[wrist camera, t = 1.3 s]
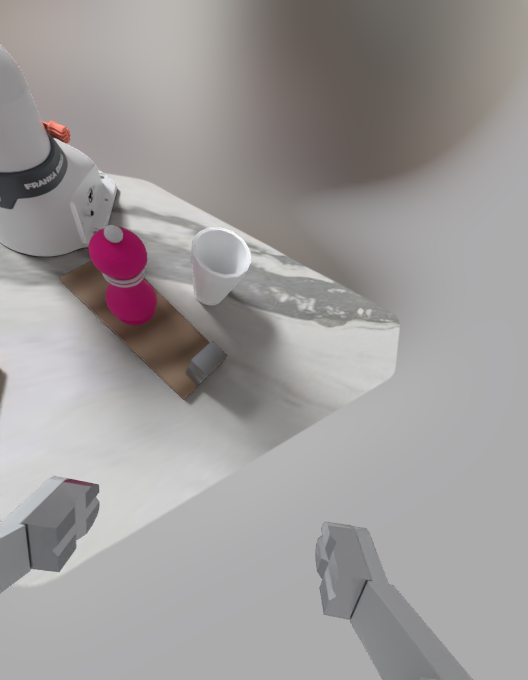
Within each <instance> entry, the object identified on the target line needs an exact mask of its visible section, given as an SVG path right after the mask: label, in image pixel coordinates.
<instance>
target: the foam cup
mask: <svg viewBox="0 0 528 680" xmlns="http://www.w3.org/2000/svg"><path fill="white" fill-rule="evenodd" d="M191 263H192V265H193V292H194V295H195V297H196V299H197V300H198V301H200V302H201V303H202V304H205V305H209V306H211V305H217V304H218V303H220V302H221V301H222V300H223V299H224V298H225V297H226V296H227V295H228V293H229V292H230V291H231V290H232V289H233V287H234V286H235V285H236V284H237V283H238V282H239V281H240V280H241V279H243V277H244V275H245V273H246V272H247V269H248V267H249V265H250V263H251V255H250V250H249V248H248V246H247V245H246V243H245V241H244V240H243V239H242V238H241V237H239V236H238V235H237V234H236V233H234V232H233V231H230V230H227V229H224V228H222V227H208V228H206V229H204V230H202V231H200V232H198V233H197V235H196V236H195V238H194V240H193V241H192V247H191Z"/></svg>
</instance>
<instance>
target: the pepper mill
mask: <svg viewBox="0 0 528 680" xmlns="http://www.w3.org/2000/svg"><path fill="white" fill-rule="evenodd" d="M88 250H89V255H90V258H91V261H92V262H93V264H94V265H95V267H96V268H97V269H99V270H100V271H101V272H102V274H103V276H104V278H105V279H106V280H107V281H108V282H109V283H110V284H109V285H108V287H107V290H106V296H105V297H106V303H107V306H108V308H109V310H110V311H111V312H112V313H113V314H114V315H115V316H116V317H117V318H118V319H119V320H120V321H122V322H124V323H126V324H129V325H140V324H144V323H146V322H148V321H149V320H150V319H151V318H152V317H153V315H154V312H155V308H156V305H157V297H156V293H155V291H154V289H153V288H152V286H151V285H150V284H149V283H148V282H147V281H145V280H144V279H143V278H144V276H145V266H146V263H147V252H146V249H145V246H144V244H143V243H142V241H141V240H140V239H139V238H138V237H137V236H136V235H135V234H134V233H132V232H131V231H129V230H126V229H124V228H120V227H117V226H115V225H108V226H106V227H105V228H103V229H101V230H99V231H97V232H96V233H95V234H94V235H93V236H92V237H91V239H90V241H89V247H88Z"/></svg>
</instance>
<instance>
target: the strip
mask: <svg viewBox="0 0 528 680" xmlns="http://www.w3.org/2000/svg"><path fill="white" fill-rule="evenodd" d="M59 279H60V280H61V282H62V283H63V284H64V285H65V286H66V287H67V288H68V289H69V290H70V291H71V292H72V293H73V294H74V295H75V296H77V297H78V298H79V299H80V300H81V301H82V302H83V303H84V304H85V305H86V306H87V307H88V308H89V309H90V310H91V311H92V312H93V313H94V314H95V315H96V316H97V317H98V318H99V319H100V320H101V321H102V322H103V323H105V324H106V325H107V326H108V327H109V328H110V329H111V330H112V331H113V332H114V333H115V334H116V335H117V336H118V337H119V338H120V339H121V340H122V341H123V342H124V343H125V344H126V345H127V346H128V347H129V348H130V349H131V350H133V351H134V352H135V353H136V354H137V355H138V356H139V357H140V358H141V359H142V360H143V361H144V362H145V363H146V364H147V365H148V366H149V367H150V368H151V369H152V370H153V371H154V372H155V373H156V374H157V375H158V376H159V377H160V378H162V379H163V380H164V381H165V382H166V383H167V384H168V385H169V386H170V387H171V388H172V389H173V390H174V391H175V392H176V393H177V394H178V395H179V396H180V397H181V398H182V399H183V400H184V399H185V398H186V397H188V396H189V395H190V394H191V393H192V392H193V391H194V390H195V389H196V388H197V387H198V386H199V385H200V384H201V383H202V382H203V381H204V380H205V379H206V378H207V377H208V376H209V375H210V374H211V373H212V372H213V371H214V370H215V369H216V368H217V367H218V366H219V365H220V364H221V363H222V362H223V361H224V360H225V359H226V357H227V355H226V354H225V353H224V352H223V351H222V350H221V349H220V348H219V347H218V346H217V345H216V344H215V343H214V342H213V341H212V342H210V343H209V342H208V341H207V340H206V339H205V338H204V337H203V336H202V335H201V334H200V333H199V332H198V331H197V330H196V329H195V328H194V327H193V326H192V325H191V324H190V323H189V322H188V321H187V320H186V319H185V318H184V317H183V316H182V315H181V314H180V313H179V312H178V311H177V310H176V309H175V308H174V307H173V306H172V305H171V304H170V303H169V302H168V301H167V300H166V299H165V298H164V297H163V296H162V295H161V294H160V293H159V292H158V291H157V290H156V289H155V288H154V287H153V286H152V285H151V284H150V283H149V282H148V281H147V280H146V279H144V278H143V279H144V280H145V281H147V282H148V283H149V284H150V285H151V286H152V288H153V289H154V291H155V293H156V297H157V305H156V308H155V312H154V315H153V317H152V318H151V319H150V320H149V321H148V322H146V323H144V324H140V325H129V324H126V323H124V322H122V321H120V320H119V319H118V318H117V317H116V316H115V315H114V314H113V313H112V312H111V311H110V310H109V308H108V306H107V303H106V297H105V296H106V290H107V287H108V285H109V284H110V283H109V282H108V281H107V280H106V279H105V278H104V276H103V274H102V272H101V271H100V270H99V269H97V268H96V267H95V265H94V264H93V262H92V261H91V262H89V263H87V264H85V265H83V266H81V267H79V268H77V269H75V270H73V271H71V272H69V273H67V274H65V275H63V276H61V277H59Z"/></svg>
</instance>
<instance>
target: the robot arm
mask: <svg viewBox="0 0 528 680" xmlns="http://www.w3.org/2000/svg"><path fill="white" fill-rule="evenodd" d="M48 132H49V133H48ZM69 133H70V132H69V129H67V128H66V127H65V126H62V125H59V124H57V123H55V122H54V121H50V122H49V123H45V122H43V121H42V120H41V117H40V115H39V112H38V110H37V107H36V105H35V102H34V100H33V97H32V95H31V92H30V90H29V87H28V85H27V82H26V79H25V77H24V75H23V73H22V71H21V70H20V68H19V67H18V65H17V64H16V62H15V61H14V59H13V58H12V57H11V56H10V54H9V53H8V52H7V51H6V50H5V48H4V47H3V46H2V45H1V44H0V243H2V244H3V245H5V246H7V247H8V248H10V249H12V250H15V251H17V252H20V253H24V254H28V255H34V256H57V255H63V254H67V253H70V252H72V251H75V250H77V249H80V248H86V247H89V241H90V239H91V237H92V236H93V235H94V234H95V233H96V232H97V231H99V230H101V229H103V228H105V227H106V226H108V223H109V219H110V215H111V211H112V208H113V204H114V200H115V196H116V192H117V187H116V184H115V183H114V182H113V181H112V180H111V179H110V178H109V177H108V176H107V175H105V174H104V173H102V172H101V171H99V170H98V169H97V166H96V165H95V163H94V162H93V161H92V160H91V159H90V158H89V157H88V156H87V155H85V154H84V153H82V152H81V151H79V150H78V149H76V148H74V147H72V146H70V145H68V144H67V143H68V142H69V141H70V134H69ZM54 138H57V139H59V140H60V141H59V140H57V139H54ZM98 493H99V485H98V484H93V483H88V482H83V481H78V480H73V479H68V478H63V477H57V476H53V477H51V478H49V479H48V480H47V481H46V482H44V483H43V484H42V485H41V486H40V487H39V488H38V489H37V490H36V491H35V492H34V493H33V494H31V495H30V496H29V497H28V498H27V499H26V500H25V501H24V502H23V503H22V504H21V505H20V506H18V507H17V508H16V509H15V510H14V511H13V512H12V513H11V514H10V515H9V516H8V517H6V518H5V519H4V520H3V521H0V593H1V592H3V591H4V590H5V589H7V588H8V587H9V586H11V585H12V584H13V583H15V582H16V581H17V580H19V579H20V578H21V577H23V576H24V575H25V574H27V573H28V572H29V571H30V569H37V570H45V571H54V572H60V570H61V569H62V568H63V566H64V565H65V563H66V562H67V561H68V559H69V558H70V556H71V555H72V554H73V552H74V551H75V549H76V543H77V540H78V539H79V538H81V537H82V536H84V535H85V534H87V532H88V531H89V529H90V528H91V526H92V525H93V523H94V521H95V519H96V517H97V515H98V511H99V501H98V499H97V498H96V496H97V494H98ZM321 531H322V536H321V537H319V538H318V541H317V544H316V566H317V572H318V573H319V575H320V576H321V578H322V583H321V586H320V593H321V599H322V605H323V611H324V615H329V616H334V617H339V618H344V619H349V620H351V621H350V622H351V624H352V626H353V628H354V629H355V631H356V633H357V635H358V637H359V638H360V640H361V642H362V644H363V646H364V647H365V649H366V651H367V653H368V655H369V656H370V658H371V660H372V662H373V664H374V665H375V667H376V669H377V671H378V672H379V674H380V676H381V678H382V679H383V680H473V679H472V678H471V677H470V675H469V674H468V673H467V672H466V671H465V670H464V668H463V667H462V666H461V665H460V664H459V662H458V661H457V660H456V659H455V658H454V656H452V654H451V653H450V652H449V651H448V649H447V648H446V647H445V646H444V645H443V643H442V642H441V641H440V640H439V639H438V637H437V636H436V635H435V634H434V633H433V631H432V630H431V629H430V628H429V627H428V626H427V624H426V623H425V622H424V621H423V620H422V618H421V617H420V616H419V615H418V614H417V612H416V611H415V610H414V609H413V608H412V607H411V605H410V604H409V603H408V602H407V601H406V599H405V598H404V597H403V596H402V595H401V593H399V591H398V590H397V589H396V588H395V586H394V585H391V584H389V583H388V580H387V578H386V575H385V572H384V570H383V567H382V565H381V562H380V559H379V557H378V554H377V552H376V549H375V547H374V544H373V541H372V538H371V536H370V533H369V531H368V530H367V529H366V528H360V527H354V526H350V525H344V524H337V523H330V522H324V523H323V525H322V528H321Z"/></svg>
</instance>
